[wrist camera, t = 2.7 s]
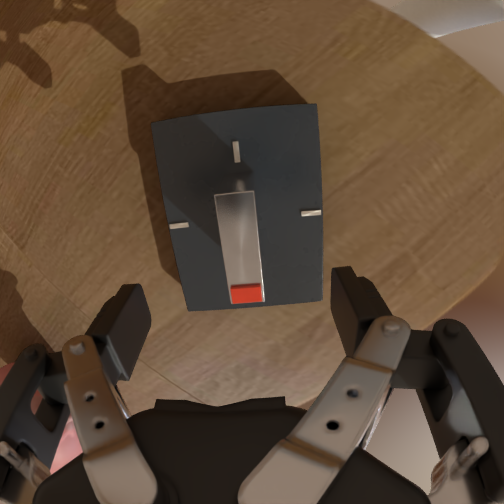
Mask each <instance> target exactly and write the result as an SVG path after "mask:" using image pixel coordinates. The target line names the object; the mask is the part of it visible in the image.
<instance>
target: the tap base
mask: <svg viewBox="0 0 504 504" xmlns="http://www.w3.org/2000/svg"><path fill="white" fill-rule="evenodd" d="M151 128H152V135H153V142H154V148H155V155H156V161H157V167H158V173H159V179H160V184H161V190H162V195H163V201H164V206H165V211H166V216H167V221H168V226H169V231H170V236H171V241H172V245H173V250H174V254H175V259H176V263H177V268H178V272H179V276H180V280H181V285H182V289H183V293H184V297H185V301H186V305H187V309H188V311H206V310H222V309H236V308H250V307H262V306H274V305H285V304H295V303H306V302H315V301H322V300H323V208H322V178H321V158H320V141H319V126H318V113H317V104H292V105H276V106H262V107H251V108H242V109H233V110H224V111H217V112H209V113H203V114H196V115H190V116H184V117H178V118H173V119H167V120H162V121H157V122H152V123H151ZM250 171H254V176H255V186H256V196H257V206H258V216H259V226H260V236H261V246H262V257H263V273H264V291H265V301H264V302H253V303H240V304H231V303H230V297H229V291H228V284H227V278H226V272H225V266H224V259H223V253H222V246H221V240H220V233H219V227H218V220H217V213H216V206H215V199H214V194H215V192H216V190H217V188H218V186H219V184H220V182H221V180H222V178H223V176H224V174H231V173H240V172H250Z"/></svg>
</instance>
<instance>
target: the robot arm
mask: <svg viewBox="0 0 504 504" xmlns="http://www.w3.org/2000/svg"><path fill="white" fill-rule="evenodd" d="M331 311H332V315H333V318H334V321H335V324H336V327H337V329H338V332H339V335H340V338H341V341H342V344H343V347H344V350H345V353H346V357H345V358H344V359H343V361H342V362H341V364H340V365H339V367H338V368H337V370H336V371H335V373H334V374H333V376H332V377H331V379H330V380H329V382H328V383H327V385H326V386H325V387H324V389H323V390H322V392H321V393H320V394H319V396H318V397H317V399H316V400H315V401H314V403H313V404H312V406H311V407H310V408H309V410H308V411H307V410H305V409H302V408H298V407H293V406H286V404H285V396H283V397H271V398H256V399H249V400H245V401H241V402H237V403H233V404H228V405H224V406H219V407H216V406H210V405H206V404H201V403H196V402H192V401H188V400H164V399H156V403H155V407H154V408H153V409H148V410H145V411H142V412H139V413H137V414H135V415H133V416H132V415H131V413H130V411H129V409H128V407H127V405H126V403H125V401H124V399H123V397H122V395H121V393H120V390H119V389H118V387H117V385H116V384H117V382H118V380H124V381H129V380H130V377H131V374H132V372H133V369H134V367H135V364H136V362H137V359H138V356H139V354H140V351H141V349H142V347H143V344H144V342H145V339H146V337H147V334H148V332H149V329H150V327H151V314H150V311H149V308H148V304H147V301H146V298H145V295H144V292H143V289H142V286H141V285H140V284H124V285H122V286H121V288H120V289H119V291H118V292H117V294H116V295H115V296H113V297H112V298H110V299H109V300H108V301H107V302H105V304H104V305H103V307H102V308H101V310H100V312H99V313H98V314H97V317H96V318H95V319H94V321H93V322H92V324H91V325H90V327H89V328H88V330H87V331H86V333H85V335H79V336H76V337H74V338H72V339H70V340H69V341H67V342H66V343H65V345H64V346H63V348H62V351H60V352H55V353H50V354H49V353H48V352H47V350H46V348H45V346H44V345H42V344H34V345H31V346H29V347H27V348H26V349H24V350H23V351H22V352H21V354H20V355H19V357H18V358H17V360H16V361H15V363H14V364H13V366H12V368H11V369H10V371H9V372H8V374H7V376H6V377H5V379H4V381H3V382H2V384H1V386H0V504H504V385H503V383H502V382H501V380H500V378H499V377H498V375H497V373H496V372H495V370H494V368H493V367H492V365H491V363H490V362H489V360H488V359H487V357H486V355H485V354H484V352H483V351H482V350H481V348H480V346H479V345H478V343H477V342H476V340H475V339H474V338H473V336H472V334H471V333H470V332H469V330H468V329H467V327H466V326H465V325H464V324H463V323H461V322H459V321H457V320H453V319H442V320H439V321H437V322H436V323H435V324H434V327H433V330H432V331H421V330H412V329H411V328H410V326H409V324H408V323H407V322H406V321H405V320H403V319H401V318H399V317H396V316H393V315H392V313H391V312H390V310H389V308H388V307H387V305H386V303H385V302H384V300H383V299H382V297H381V295H380V294H379V292H378V291H377V289H376V287H375V286H374V284H373V283H372V282H371V281H370V280H368V279H367V278H365V277H364V276H363V277H357V276H356V274H355V273H354V271H353V269H352V268H351V266H345V267H336V268H332V273H331ZM394 388H404V389H416V392H417V395H418V397H419V400H420V402H421V405H422V408H423V411H424V413H425V416H426V419H427V422H428V424H429V427H430V430H431V433H432V436H433V439H434V442H435V445H436V448H437V451H438V455H439V457H440V461H439V462H438V463H437V464H436V466H435V467H434V468H433V471H432V474H431V491H430V493H429V495H428V496H427V495H426V493H425V492H424V491H423V490H422V489H421V488H420V487H418V486H417V485H416V484H414V483H413V482H411V481H409V480H408V479H406V478H405V477H403V476H402V475H400V474H399V473H397V472H396V471H394V470H393V469H391V468H390V467H388V466H387V465H385V464H384V463H383V462H381V461H380V460H378V459H377V458H375V457H374V456H372V455H371V454H369V453H368V452H367V451H365V448H366V446H367V444H368V443H369V441H370V439H371V436H372V434H373V432H374V430H375V428H376V425H377V423H378V422H379V419H380V417H381V415H382V413H383V411H384V409H385V407H386V405H387V403H388V401H389V398H390V396H391V394H392V392H393V389H394ZM36 390H38V391H39V393H40V394H41V396H42V397H43V398H42V400H41V403H40V405H39V407H38V409H37V411H36V413H35V415H34V414H33V412H32V410H31V400H32V398H33V396H34V394H35V392H36ZM70 413H71V416H72V419H73V423H74V426H75V429H76V433H77V436H78V439H79V442H80V445H81V448H82V451H83V452H82V453H81V454H80V455H78V456H77V457H76V458H74V459H73V460H71V461H70V462H69V463H67V464H66V465H64V466H63V467H62V468H60V469H59V470H57V471H56V472H55V473H53V474H52V475H51V473H50V469H51V466H52V463H53V460H54V457H55V454H56V451H57V448H58V445H59V442H60V440H61V437H62V434H63V431H64V429H65V426H66V423H67V421H68V418H69V416H70Z"/></svg>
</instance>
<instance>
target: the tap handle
mask: <svg viewBox="0 0 504 504" xmlns="http://www.w3.org/2000/svg"><path fill="white" fill-rule="evenodd" d="M214 199H215V206H216V213H217V220H218V227H219V233H220V240H221V246H222V253H223V259H224V266H225V272H226V278H227V284H228V291H229V297H230V303H231V304H240V303H253V302H264V301H265V291H264V273H263V257H262V246H261V236H260V226H259V216H258V206H257V196H256V186H255V176H254V171H250V172H240V173H231V174H224V176H223V178H222V180H221V182H220V184H219V186H218V188H217V190H216V192H215V194H214Z"/></svg>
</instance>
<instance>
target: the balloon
mask: <svg viewBox="0 0 504 504" xmlns="http://www.w3.org/2000/svg"><path fill="white" fill-rule="evenodd" d="M14 363H15V362H13V363H10V364H7V365H5V366H3V367H2V368H0V386H1V384H2V382H3V381H4V379H5V377H6V376H7V374H8V372H9V371H10V369H11V368H12V366H13V364H14ZM42 398H43V397H42V396H41V394H40V393H39V391H38V390H36V392H35V394H34V396H33V398H32V400H31V410H32V412H33V414H34V415H35V413H36V411H37V409H38V407H39V405H40V403H41V400H42ZM82 452H83V451H82V448H81V445H80V442H79V439H78V436H77V433H76V429H75V426H74V423H73V419H72V416H71V413H70V416H69V418H68V421H67V423H66V426H65V429H64V431H63V434H62V437H61V440H60V442H59V445H58V448H57V451H56V454H55V457H54V460H53V463H52V466H51V469H50V473H51V475H52V474H53V473H55V472H56V471H57V470H59V469H60V468H62V467H63V466H64V465H66V464H67V463H69V462H70V461H71V460H73V459H74V458H76V457H77V456H78V455H80V454H81V453H82Z"/></svg>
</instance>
